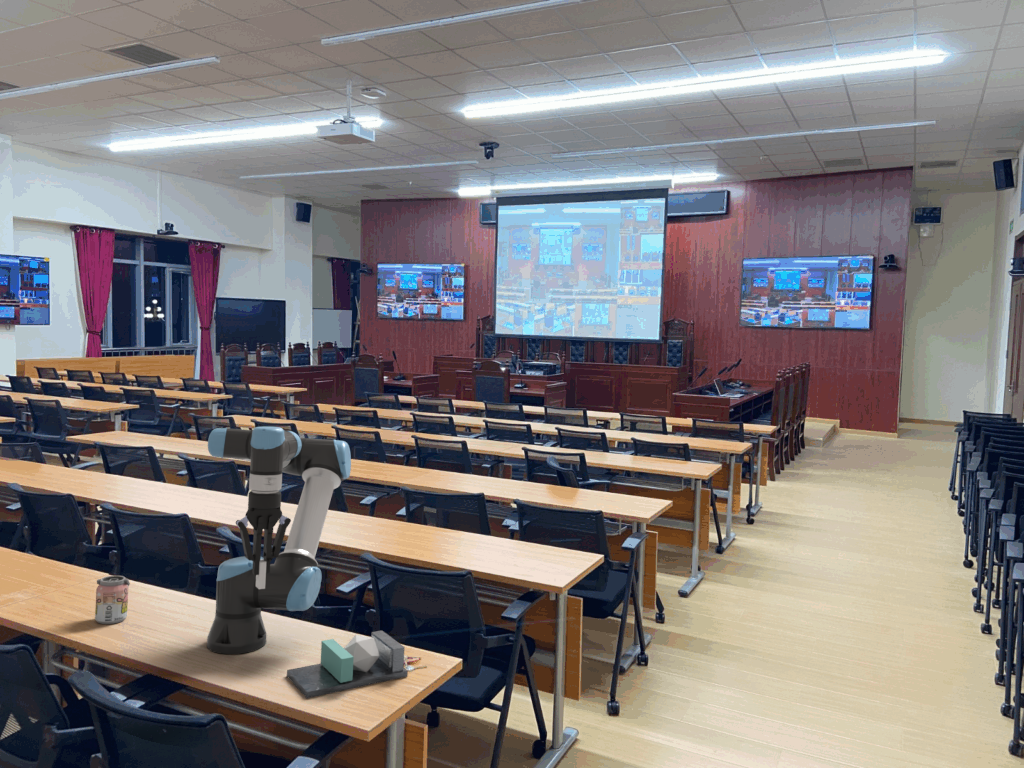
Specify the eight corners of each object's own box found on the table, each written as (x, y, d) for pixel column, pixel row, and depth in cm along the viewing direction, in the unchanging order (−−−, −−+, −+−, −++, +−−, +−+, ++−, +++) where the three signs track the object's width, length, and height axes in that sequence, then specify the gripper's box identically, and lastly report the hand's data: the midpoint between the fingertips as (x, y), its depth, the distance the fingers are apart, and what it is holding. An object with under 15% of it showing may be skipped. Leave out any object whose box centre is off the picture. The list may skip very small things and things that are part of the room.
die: (384, 668, 188) (373, 631, 192) (380, 663, 181) (369, 625, 185) (352, 680, 187) (342, 643, 191) (347, 676, 179) (337, 637, 183)
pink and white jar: (99, 614, 216) (101, 573, 216) (131, 613, 219) (133, 573, 218) (90, 625, 208) (92, 583, 207) (123, 624, 210) (125, 582, 210)
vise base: (286, 676, 182) (288, 645, 182) (383, 657, 197) (384, 629, 197) (306, 698, 171) (308, 666, 171) (407, 676, 186) (409, 647, 186)
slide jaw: (320, 663, 187) (321, 640, 187) (333, 660, 189) (334, 638, 189) (340, 682, 176) (341, 659, 176) (353, 680, 178) (355, 656, 178)
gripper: (242, 494, 172) (236, 595, 173) (296, 492, 180) (291, 588, 180) (233, 489, 178) (228, 586, 179) (286, 486, 186) (281, 580, 186)
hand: (260, 587), depth 179 cm, fingers closed
